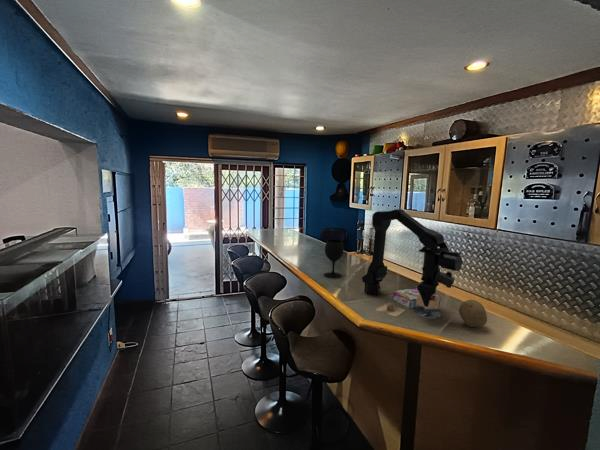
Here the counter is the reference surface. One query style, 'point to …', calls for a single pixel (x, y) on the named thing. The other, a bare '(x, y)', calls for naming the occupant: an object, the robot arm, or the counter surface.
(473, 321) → the natural sponge
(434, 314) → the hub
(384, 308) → the stand
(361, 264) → the counter surface
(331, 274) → the wine glass
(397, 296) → the candy bar box
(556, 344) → the counter surface
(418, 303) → the wooden square frame
